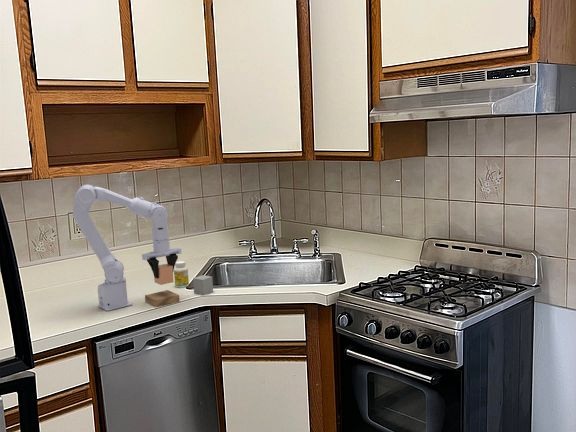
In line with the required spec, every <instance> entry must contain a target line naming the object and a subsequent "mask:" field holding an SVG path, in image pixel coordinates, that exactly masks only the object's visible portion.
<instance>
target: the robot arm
mask: <svg viewBox="0 0 576 432" xmlns="http://www.w3.org/2000/svg"><path fill="white" fill-rule="evenodd" d="M95 201H96V202H97V203H101V202H110V203H112V204H116V205H119V206H122V207H126V208H127V209H129V212H130V213H131V214H133V215H137V216H140V217H142V218H146V219H151V221H152V222H151V223H152V226H151V233H152V247H153V251H149V252H147V253H143V254H141V258H142V260H143V261H146V262H147V264H148V265H149V266H150V270H151V271H152V273H153V277H154V278H159V272H158V265H160V264H159V263H160V260H159V259H158V258H163V257H165V259H166V262H167V263H166V264H168V265H171V266H173V271H174V268H175V267H176V266H175V263H176V262H178V259H179V255H181V254H182V248H181V247H175V248H171V247H170V246H171V245H170V234H169V233H170V232H169V225H168V224H169V223H168V218H169V213H168V211H167V209H166V208H165V206H163V205H161V204H157V202H152V201H148V200H145V198H144V197H143V196H139V197H137V196H136V197H134V198H130V197H127V196H124V195H122V194H119V193H117V192H114V191H111V190H110V189H107V188H103V187H100V186H94V185H92V184H87V183H86V184H83V185H81V186H80V187H79V188H78V190H77V191H76V193H75V195H74V197H73V205H72V206H73V209H72V217H73V219H74V221H75V222H76V224H77V225H78V228H79V229H80V231H81V233H82V234H83V235H84V237H85V238H86V241H87V242H88V244H89V245H90V247H91V249H92V250H93V253H95V255H96V257H97V258H98V260H99V262H100V265H101V267H102V269H103V272H104V278H105V279H104V282H103V283H100V284H98V285H97V295H98V307H99V308H101V309H102V310H104V311H106V312H107V311H111V310H116V309H120V308H125V307H129V306H132V305H133V303H131V302H130V301H128V289H127V280H126V277H125V276H124V272H125V271H124V270H125V267H124V265H123V263H122V262H121V261H120V260H118V259H117V258H116V256H115V255H114V254H113V253H112V251H111V249H110V247H109V246H108V245H107V243H106V242H105V240H104V238H103V236H102V235H101V233H100V231H99V229H98V227H97V226H96V225H95V223H94V222H93V219H92V217H91V216H90V214H89V213H90V211H91V207H92V205H93V204H94V202H95Z"/></svg>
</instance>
